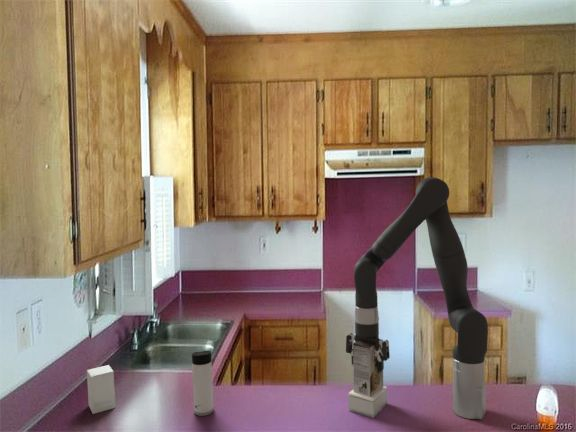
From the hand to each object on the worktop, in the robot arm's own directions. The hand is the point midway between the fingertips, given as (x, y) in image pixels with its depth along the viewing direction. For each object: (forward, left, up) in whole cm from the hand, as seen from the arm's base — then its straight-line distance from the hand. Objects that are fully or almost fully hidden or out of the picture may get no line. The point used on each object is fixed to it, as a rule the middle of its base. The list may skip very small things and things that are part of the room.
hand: (367, 369), depth 143 cm
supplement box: (+76, +47, -13) cm, 90 cm away
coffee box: (0, 0, -7) cm, 7 cm away
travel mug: (+44, +31, -13) cm, 55 cm away
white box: (0, 0, -13) cm, 13 cm away
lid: (0, 0, -8) cm, 8 cm away
